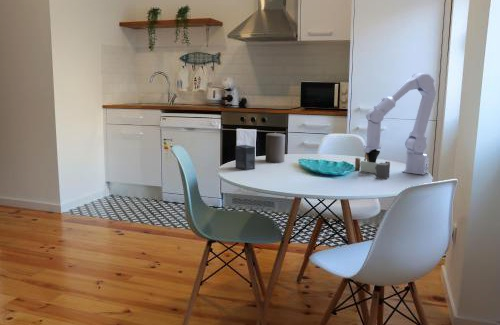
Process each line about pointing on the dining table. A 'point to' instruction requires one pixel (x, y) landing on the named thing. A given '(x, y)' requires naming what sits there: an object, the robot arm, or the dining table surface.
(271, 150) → the pillar candle
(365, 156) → the lion figurine
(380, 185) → the dining table surface
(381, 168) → the block
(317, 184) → the dining table surface
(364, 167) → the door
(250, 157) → the box
